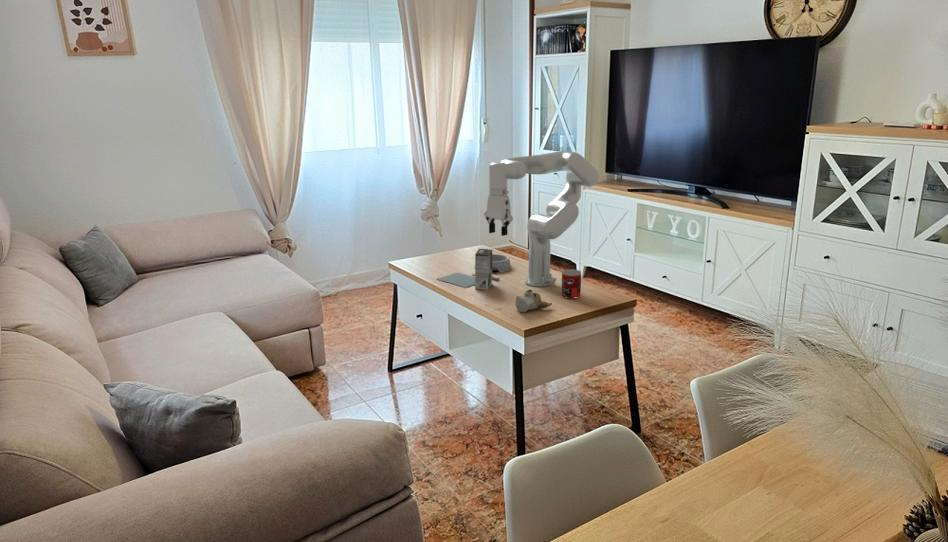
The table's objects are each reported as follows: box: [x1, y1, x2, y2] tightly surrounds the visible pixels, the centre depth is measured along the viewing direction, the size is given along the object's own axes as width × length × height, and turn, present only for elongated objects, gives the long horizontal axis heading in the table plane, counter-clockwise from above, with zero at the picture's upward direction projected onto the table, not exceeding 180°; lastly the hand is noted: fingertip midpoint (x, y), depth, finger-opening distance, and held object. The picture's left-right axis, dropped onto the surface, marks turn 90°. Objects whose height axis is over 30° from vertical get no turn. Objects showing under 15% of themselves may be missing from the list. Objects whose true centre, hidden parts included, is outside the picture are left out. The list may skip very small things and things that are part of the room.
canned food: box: [561, 268, 582, 298], centre depth 261 cm, size 8×8×11 cm
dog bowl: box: [474, 253, 512, 273], centre depth 306 cm, size 17×18×5 cm
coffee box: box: [474, 248, 493, 291], centre depth 275 cm, size 9×6×16 cm
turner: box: [471, 272, 500, 282], centre depth 291 cm, size 15×4×1 cm, turn 46°
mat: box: [436, 272, 475, 289], centre depth 287 cm, size 19×14×1 cm
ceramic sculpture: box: [514, 289, 553, 313], centre depth 247 cm, size 11×9×15 cm
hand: (498, 233), depth 264 cm, fingers open, 6 cm apart
